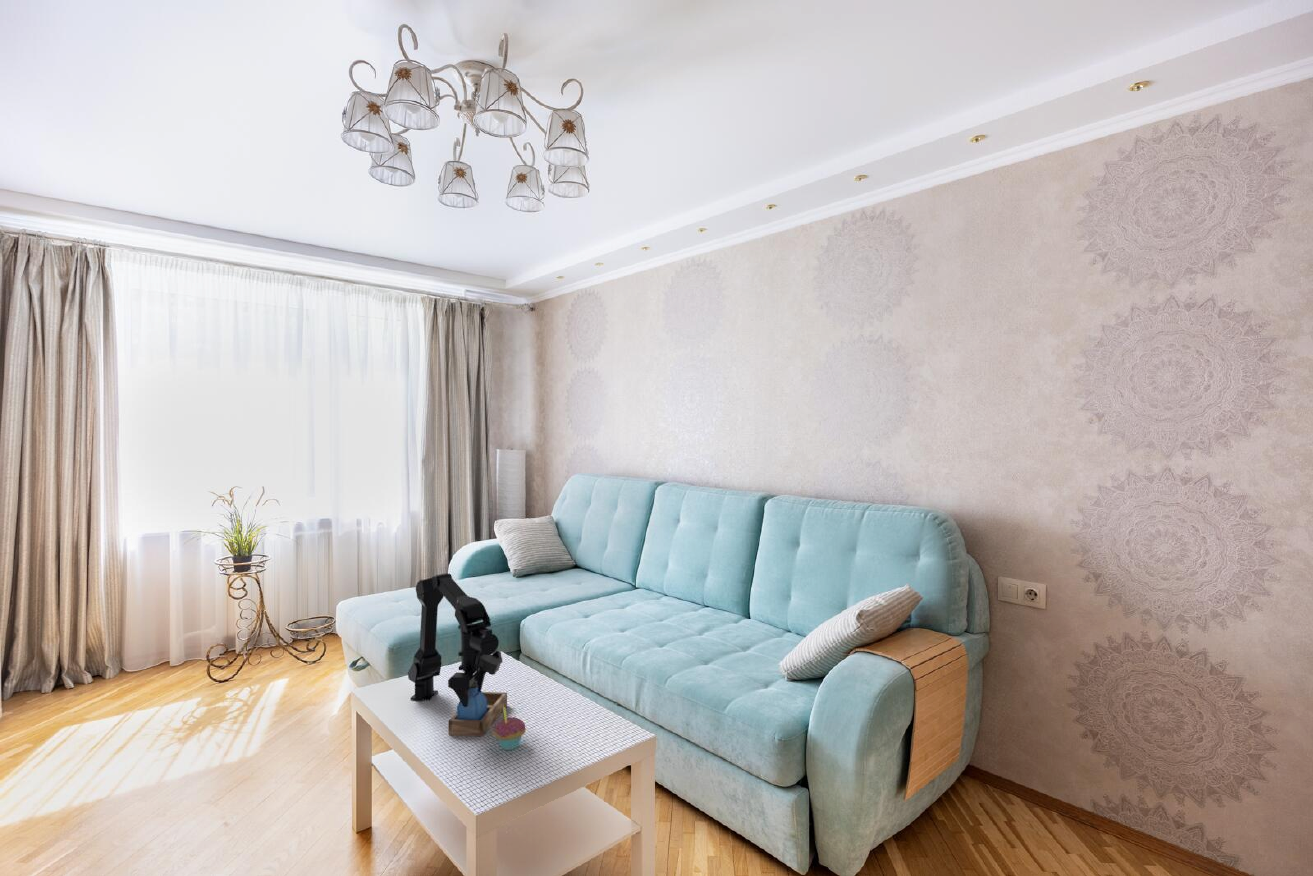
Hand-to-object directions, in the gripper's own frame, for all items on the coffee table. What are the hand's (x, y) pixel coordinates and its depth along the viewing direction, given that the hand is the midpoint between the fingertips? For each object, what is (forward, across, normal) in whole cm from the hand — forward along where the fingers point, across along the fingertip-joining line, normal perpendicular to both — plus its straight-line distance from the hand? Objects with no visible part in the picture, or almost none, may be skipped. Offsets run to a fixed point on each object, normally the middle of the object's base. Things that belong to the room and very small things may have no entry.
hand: (472, 699), depth 177 cm
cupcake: (+8, -9, -14) cm, 19 cm away
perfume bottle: (+7, 0, 0) cm, 7 cm away
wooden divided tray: (+8, +5, 0) cm, 9 cm away
